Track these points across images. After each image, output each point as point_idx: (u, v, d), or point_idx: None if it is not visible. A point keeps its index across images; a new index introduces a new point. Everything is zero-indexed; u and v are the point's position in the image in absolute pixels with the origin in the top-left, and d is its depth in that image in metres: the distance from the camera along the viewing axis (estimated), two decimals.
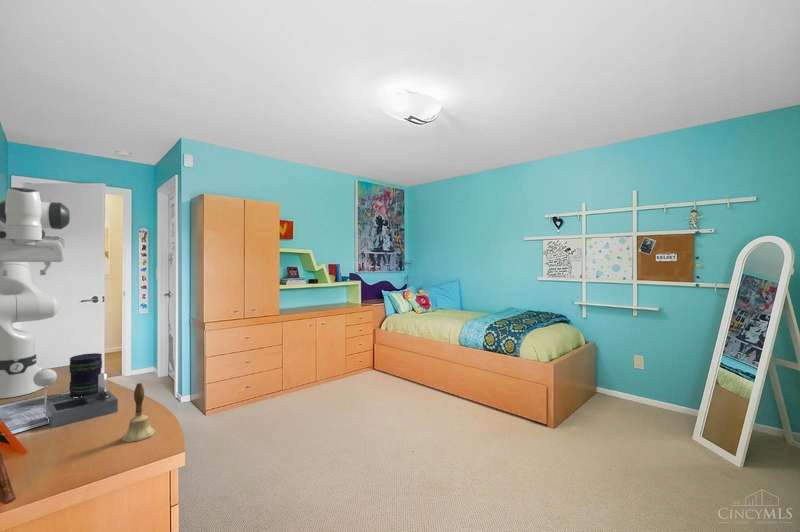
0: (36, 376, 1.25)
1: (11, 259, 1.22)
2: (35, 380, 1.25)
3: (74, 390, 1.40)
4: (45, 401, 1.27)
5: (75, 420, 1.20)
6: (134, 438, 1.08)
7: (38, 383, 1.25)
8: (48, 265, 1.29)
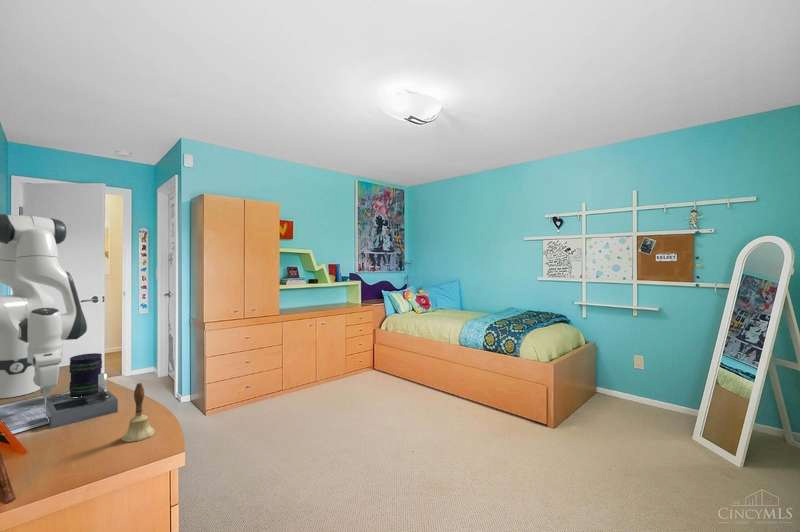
0: (36, 376, 1.25)
1: None
2: (35, 380, 1.25)
3: (74, 390, 1.40)
4: (45, 401, 1.27)
5: (75, 420, 1.20)
6: (134, 438, 1.08)
7: (38, 383, 1.25)
8: None
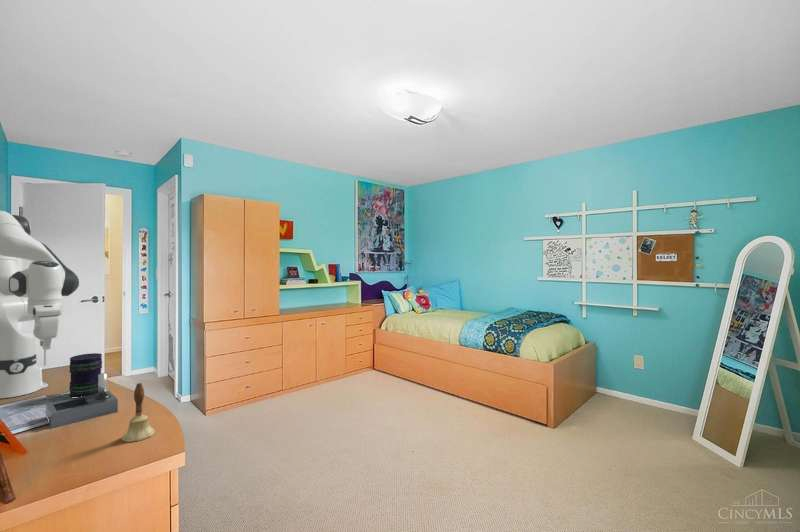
0: (36, 328, 1.25)
1: None
2: (35, 332, 1.24)
3: (74, 390, 1.40)
4: (45, 354, 1.27)
5: (75, 420, 1.20)
6: (134, 438, 1.08)
7: (38, 335, 1.25)
8: None
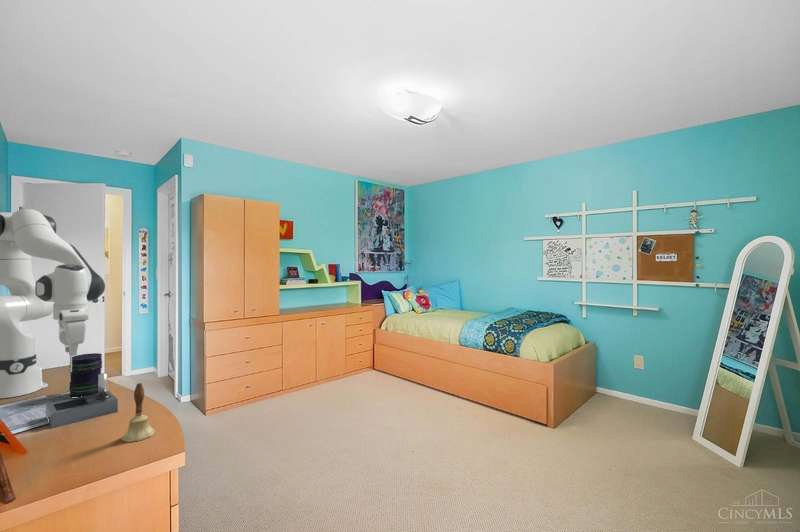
0: (62, 334, 1.21)
1: None
2: (61, 338, 1.21)
3: (74, 390, 1.40)
4: (71, 360, 1.23)
5: (75, 420, 1.20)
6: (134, 438, 1.08)
7: (64, 341, 1.21)
8: None
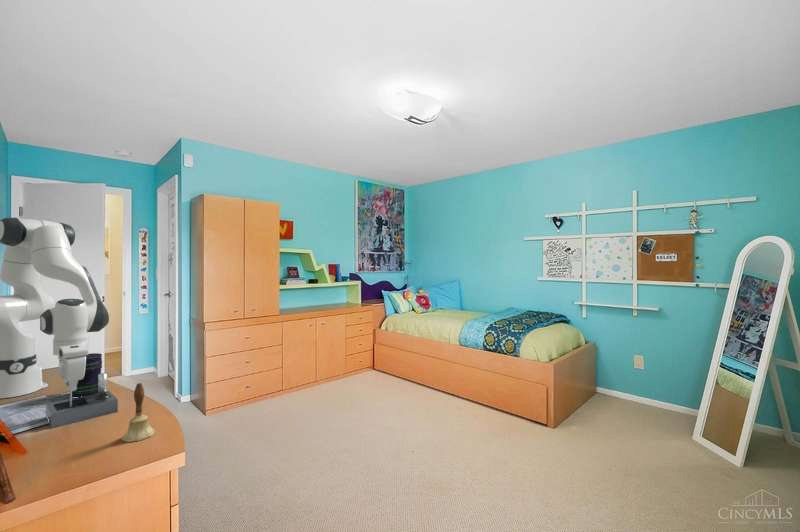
0: (62, 369, 1.21)
1: None
2: (61, 373, 1.21)
3: None
4: (71, 395, 1.24)
5: (75, 420, 1.20)
6: (134, 438, 1.08)
7: (64, 376, 1.21)
8: None
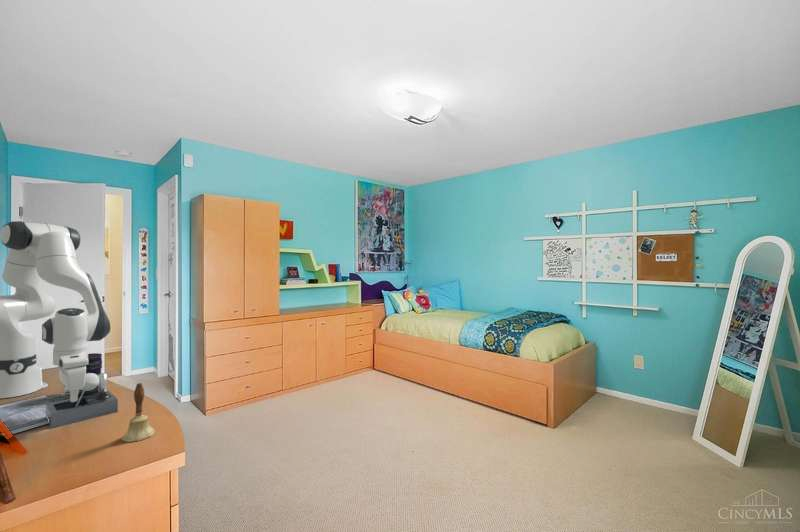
0: None
1: None
2: None
3: None
4: (76, 406, 1.24)
5: (75, 420, 1.20)
6: (134, 438, 1.08)
7: None
8: None
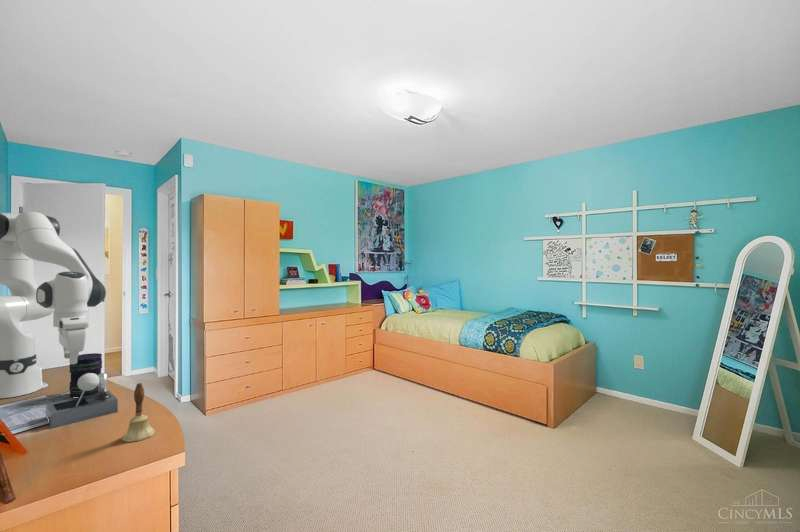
0: (83, 378, 1.24)
1: None
2: (80, 382, 1.23)
3: (74, 390, 1.40)
4: (76, 406, 1.24)
5: (75, 420, 1.20)
6: (134, 438, 1.08)
7: (81, 385, 1.23)
8: None
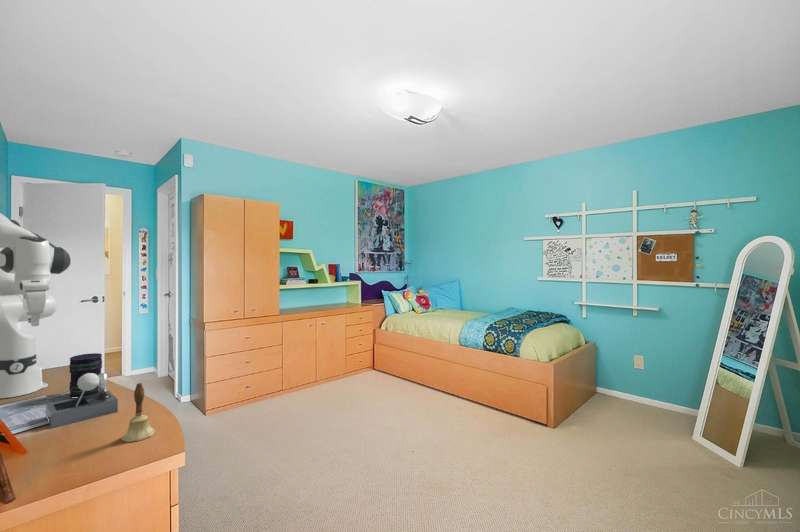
0: (83, 378, 1.24)
1: None
2: (80, 382, 1.23)
3: (74, 390, 1.40)
4: (76, 406, 1.24)
5: (75, 420, 1.20)
6: (134, 438, 1.08)
7: (81, 385, 1.23)
8: None
